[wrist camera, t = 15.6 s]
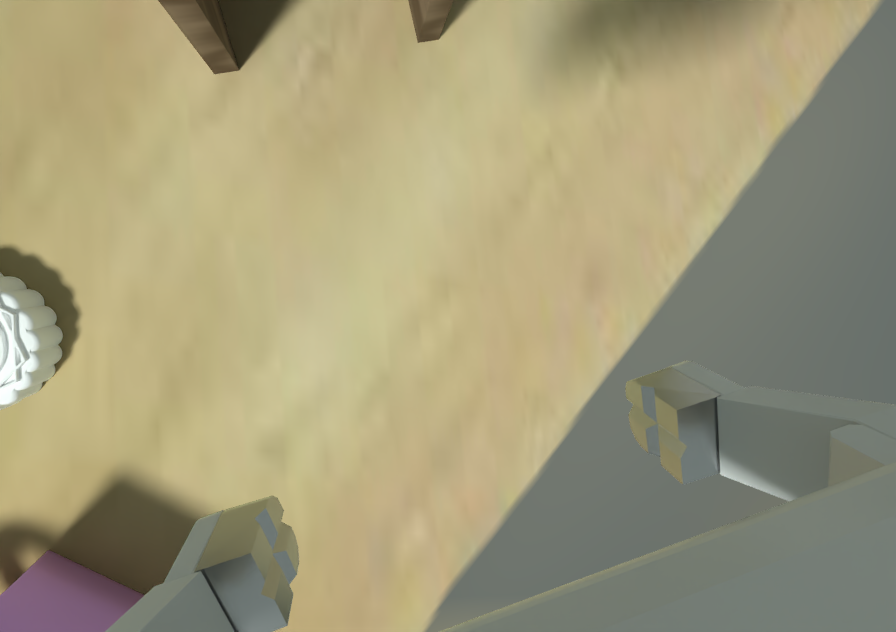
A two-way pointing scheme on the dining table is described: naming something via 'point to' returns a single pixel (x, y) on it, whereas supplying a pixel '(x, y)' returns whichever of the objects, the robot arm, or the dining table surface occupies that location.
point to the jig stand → (206, 30)
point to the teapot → (63, 599)
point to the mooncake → (25, 341)
